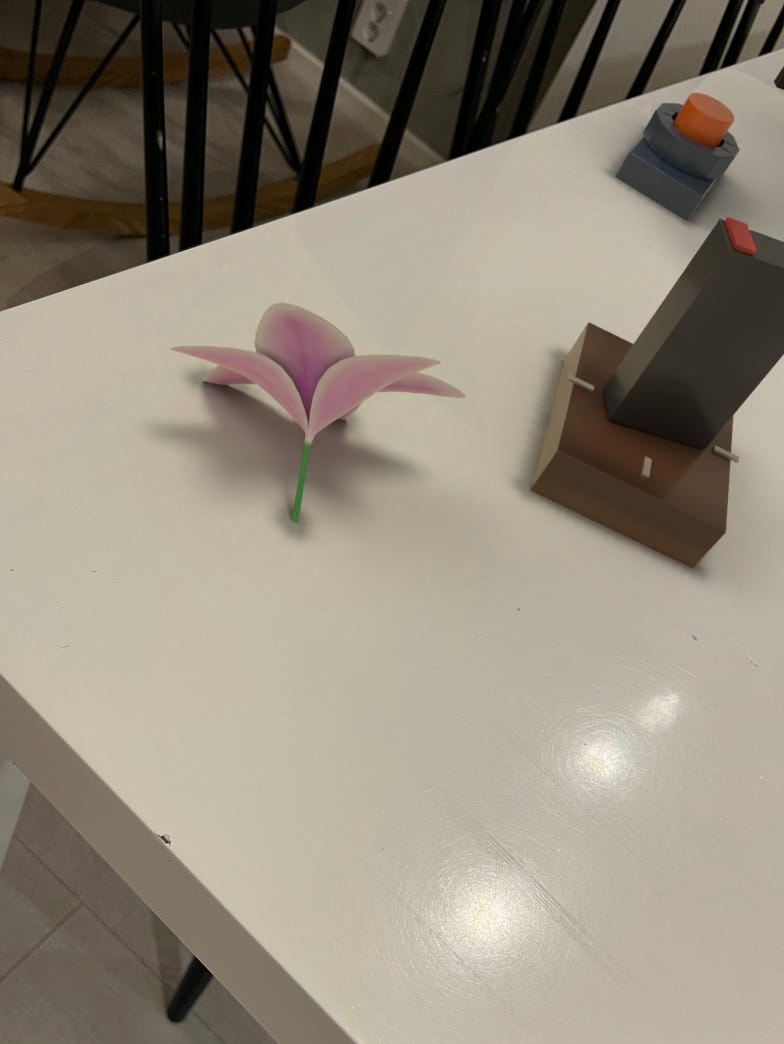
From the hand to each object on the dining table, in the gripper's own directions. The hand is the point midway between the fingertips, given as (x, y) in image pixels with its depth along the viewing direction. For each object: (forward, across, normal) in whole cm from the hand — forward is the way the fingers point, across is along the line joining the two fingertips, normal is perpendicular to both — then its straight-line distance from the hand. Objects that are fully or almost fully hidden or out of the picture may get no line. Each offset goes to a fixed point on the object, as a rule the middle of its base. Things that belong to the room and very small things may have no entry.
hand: (767, 41), depth 70 cm
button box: (+11, +3, 0) cm, 12 cm away
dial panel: (+11, -31, +9) cm, 34 cm away
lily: (+12, -37, +27) cm, 48 cm away
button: (+8, +3, -1) cm, 8 cm away
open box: (+8, -31, +9) cm, 33 cm away
